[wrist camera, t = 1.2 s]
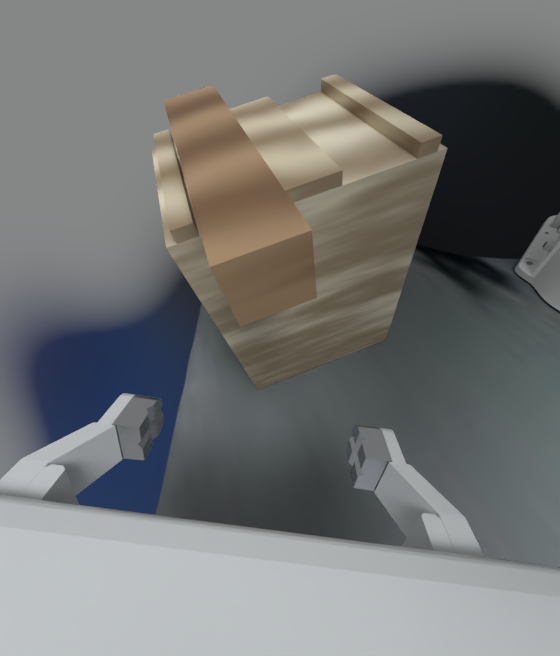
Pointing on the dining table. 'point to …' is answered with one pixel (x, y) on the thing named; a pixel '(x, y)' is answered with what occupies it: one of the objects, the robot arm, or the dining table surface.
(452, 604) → the robot arm
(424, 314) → the dining table surface
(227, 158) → the rail bar
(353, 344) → the slotted stand
